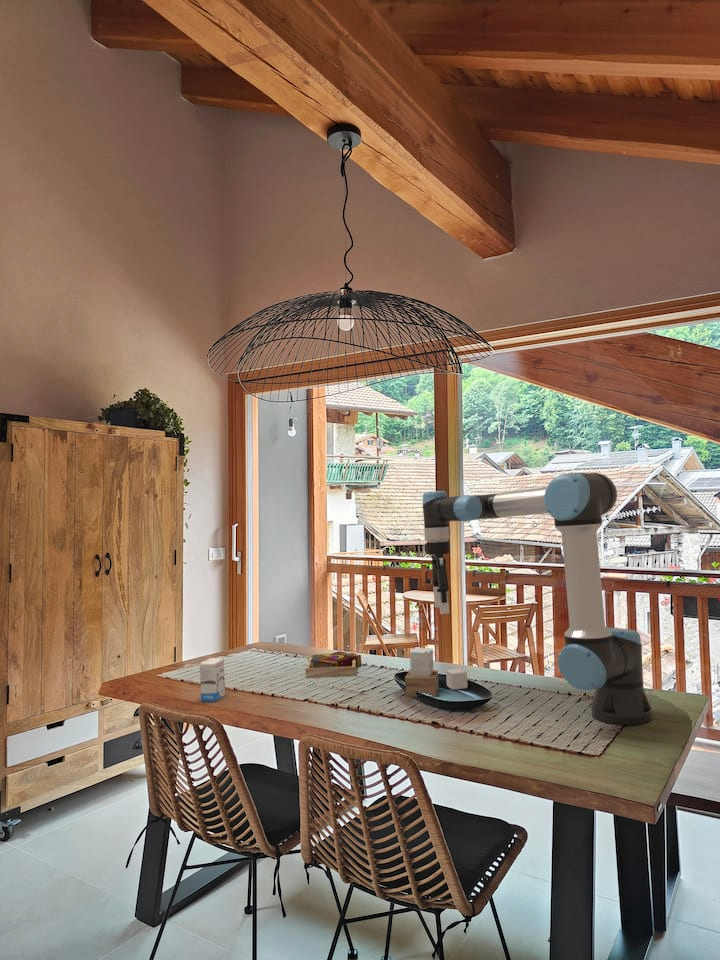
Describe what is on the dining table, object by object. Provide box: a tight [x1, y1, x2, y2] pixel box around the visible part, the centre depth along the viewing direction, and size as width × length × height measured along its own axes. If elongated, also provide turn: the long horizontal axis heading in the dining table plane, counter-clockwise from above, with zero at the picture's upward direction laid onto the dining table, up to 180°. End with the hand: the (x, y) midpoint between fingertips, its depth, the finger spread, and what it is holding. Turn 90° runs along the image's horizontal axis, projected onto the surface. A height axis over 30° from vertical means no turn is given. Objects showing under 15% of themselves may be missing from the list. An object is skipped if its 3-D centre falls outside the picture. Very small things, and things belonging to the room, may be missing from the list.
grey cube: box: [445, 668, 468, 691], centre depth 219 cm, size 5×5×5 cm
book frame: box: [305, 652, 357, 679], centre depth 249 cm, size 22×17×3 cm
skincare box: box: [409, 647, 435, 677], centre depth 214 cm, size 6×6×7 cm
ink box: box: [199, 657, 226, 703], centre depth 218 cm, size 9×5×12 cm, turn 168°
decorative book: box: [311, 650, 362, 669], centre depth 249 cm, size 11×16×5 cm
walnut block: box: [404, 669, 440, 698], centre depth 214 cm, size 9×9×6 cm
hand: (441, 610), depth 213 cm, fingers open, 13 cm apart
